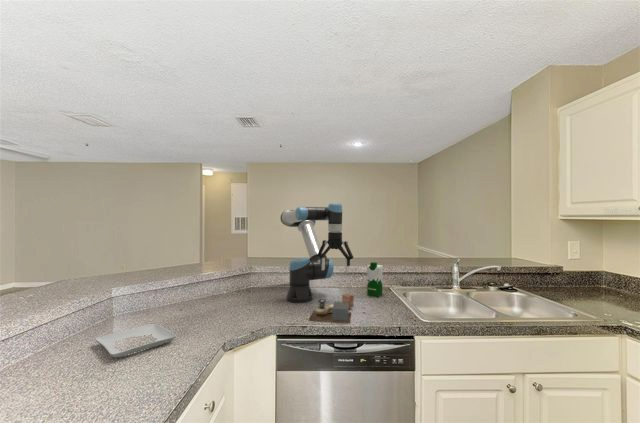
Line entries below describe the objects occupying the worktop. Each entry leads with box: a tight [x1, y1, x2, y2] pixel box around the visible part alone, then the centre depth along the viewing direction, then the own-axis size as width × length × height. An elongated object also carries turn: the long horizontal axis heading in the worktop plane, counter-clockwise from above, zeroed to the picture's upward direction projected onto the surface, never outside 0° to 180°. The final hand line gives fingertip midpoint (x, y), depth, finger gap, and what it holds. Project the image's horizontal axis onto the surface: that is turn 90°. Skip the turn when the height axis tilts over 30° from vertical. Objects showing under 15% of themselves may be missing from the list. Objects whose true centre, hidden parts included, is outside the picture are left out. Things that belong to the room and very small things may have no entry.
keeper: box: [308, 298, 352, 324], centre depth 138 cm, size 19×12×7 cm, turn 82°
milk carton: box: [366, 261, 384, 298], centre depth 178 cm, size 9×9×20 cm
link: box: [316, 293, 355, 315], centre depth 146 cm, size 22×5×6 cm, turn 127°
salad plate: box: [95, 322, 178, 358], centre depth 109 cm, size 21×21×3 cm
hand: (334, 271), depth 157 cm, fingers open, 13 cm apart
